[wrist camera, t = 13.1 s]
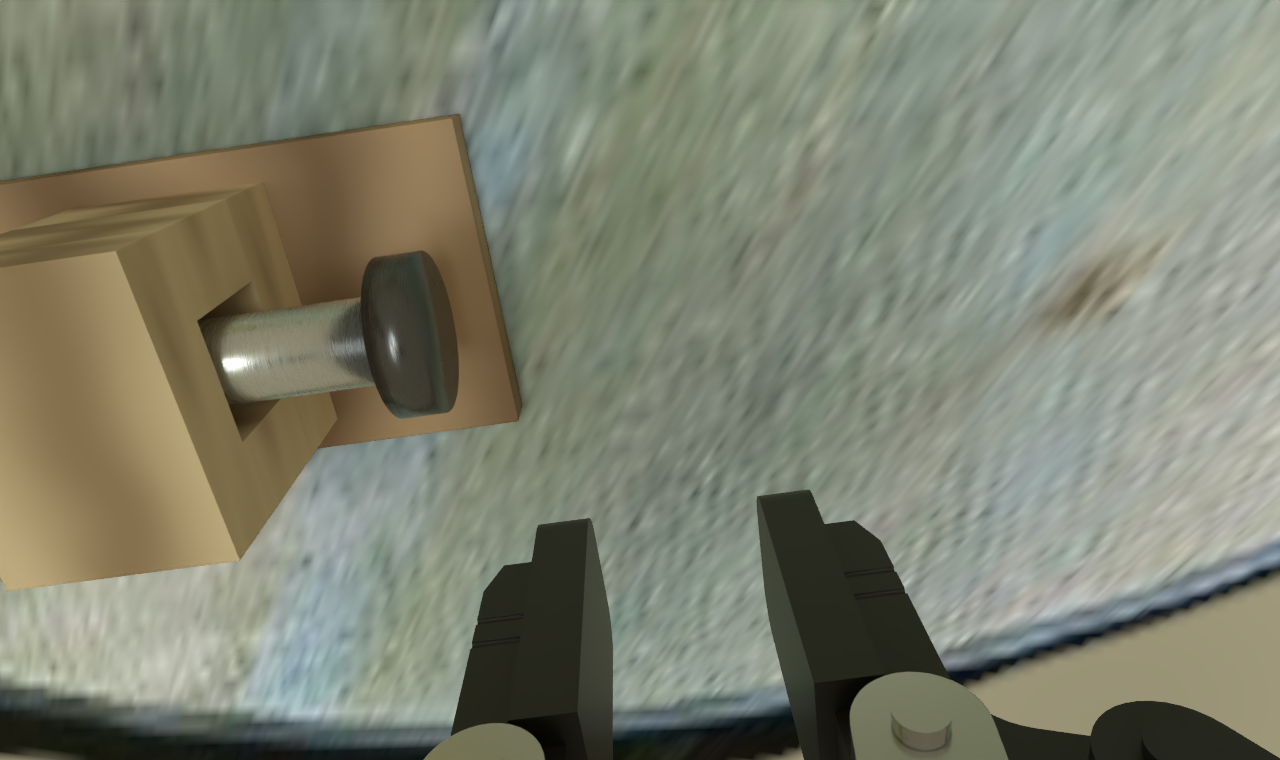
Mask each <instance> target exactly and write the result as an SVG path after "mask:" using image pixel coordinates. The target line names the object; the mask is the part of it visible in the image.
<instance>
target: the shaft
mask: <svg viewBox="0 0 1280 760" xmlns="http://www.w3.org/2000/svg"><path fill="white" fill-rule="evenodd" d="M197 322H198V325H199V327H200V330H201V333H202V335H203V338H204V341H205V343H206V346H207V349H208V351H209V354H210V357H211V359H212V362H213V365H214V367H215V370H216V373H217V375H218V378H219V381H220V383H221V386H222V389H223V391H224V394H225V397H226V400H227V402H228V405H236V404H243V403H251V402H258V401H265V400H272V399H280V398H287V397H294V396H302V395H309V394H316V393H323V392H331V391H338V390H345V389H353V388H360V387H367V386H374V385H376V388H377V390H378V392H379V395H380V397H381V399H382V401H383V402H384V404H385V406H386V407H387V408H388V410H389V411H390V412H391V413H392V414H393V415H394V416H395V417H397V418H399V419H406V418H413V417H421V416H428V415H435V414H443V413H448V412H450V411H451V410H452V409H453V407H454V405H455V402H456V398H457V393H458V384H459V357H458V345H457V337H456V330H455V324H454V319H453V314H452V309H451V305H450V301H449V297H448V294H447V290H446V287H445V284H444V282H443V279H442V276H441V274H440V272H439V269H438V267H437V265H436V264H435V262H434V260H433V259H432V257H431V256H430V255H429V254H428V253H427V252H425V251H422V250H420V251H413V252H406V253H399V254H392V255H385V256H378V257H374V258H372V259H371V260H370V261H369V263H368V264H367V266H366V268H365V272H364V275H363V280H362V287H361V297H359V298H352V299H345V300H338V301H331V302H324V303H317V304H309V305H302V306H295V307H288V308H281V309H274V310H267V311H260V312H253V313H246V314H238V315H231V316H224V317H217V318H210V319H203V320H198V321H197Z"/></svg>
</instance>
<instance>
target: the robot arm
mask: <svg viewBox="0 0 1280 760" xmlns="http://www.w3.org/2000/svg"><path fill="white" fill-rule="evenodd" d="M757 514H758V525H759V536H760V546H761V557H762V567H763V578H764V588H765V596H766V603H767V609H768V615H769V621H770V626H771V630H772V635H773V639H774V642H775V646H776V650H777V654H778V658H779V662H780V666H781V670H782V674H783V678H784V682H785V686H786V690H787V694H788V698H789V702H790V706H791V710H792V714H793V718H794V722H795V726H796V730H797V733H798V737H799V741H800V745H801V749H802V753H803V757H804V760H1280V758H1278V757H1277V756H1275V755H1273V754H1272V753H1270V752H1269V751H1267V750H1265V749H1264V748H1262V747H1260V746H1259V745H1257V744H1255V743H1254V742H1252V741H1250V740H1249V739H1247V738H1245V737H1244V736H1242V735H1241V734H1239V733H1237V732H1236V731H1234V730H1232V729H1230V728H1229V727H1227V726H1226V725H1224V724H1222V723H1220V722H1218V721H1217V720H1215V719H1213V718H1211V717H1209V716H1207V715H1205V714H1202V713H1200V712H1198V711H1195V710H1192V709H1189V708H1186V707H1183V706H1180V705H1175V704H1170V703H1165V702H1156V701H1136V702H1130V703H1124V704H1121V705H1118V706H1115V707H1113V708H1111V709H1109V710H1107V711H1106V712H1105V713H1103V714H1102V715H1101V716H1100V717H1099V718H1098V720H1097V721H1096V722H1095V724H1094V726H1093V729H1092V733H1091V736H1086V735H1078V734H1071V733H1064V732H1056V731H1050V730H1043V729H1036V728H1030V727H1026V726H1021V725H1018V724H1014V723H1010V722H1008V721H1005V720H1003V719H1000V718H998V717H996V716H993V715H992V714H990V712H989V710H988V709H987V707H986V706H985V705H984V703H983V702H982V701H981V700H980V699H979V698H978V697H977V696H976V695H975V694H973V693H972V692H971V691H969V690H968V689H967V688H965V687H963V686H962V685H960V684H958V683H956V682H954V681H952V680H951V679H950V677H949V676H948V674H947V672H946V670H945V668H944V666H943V664H942V662H941V660H940V658H939V656H938V654H937V652H936V650H935V648H934V646H933V644H932V642H931V640H930V638H929V636H928V634H927V632H926V630H925V628H924V626H923V624H922V622H921V620H920V618H919V616H918V614H917V612H916V610H915V608H914V606H913V604H912V602H911V600H910V598H909V596H908V594H905V590H904V586H903V584H902V582H901V580H900V578H899V576H898V574H897V572H894V566H893V564H892V562H891V560H890V558H889V556H888V554H887V552H886V551H885V549H884V547H883V545H882V543H881V541H880V540H879V539H878V538H876V537H875V536H874V535H873V534H871V533H870V532H869V531H867V530H866V529H865V528H863V527H862V526H861V525H859V524H858V523H857V522H855V521H854V520H853V521H846V522H838V523H830V524H824V522H823V520H822V517H821V515H820V512H819V510H818V507H817V505H816V503H815V500H814V498H813V495H812V493H811V491H810V490H802V491H794V492H787V493H779V494H772V495H764V496H757ZM477 620H478V625H476V628H475V632H474V636H473V641H472V649H470V654H469V658H468V662H467V667H466V671H465V676H464V680H463V684H462V689H461V693H460V697H459V702H458V706H457V710H456V715H455V719H454V724H453V728H452V732H451V737H449V738H447V739H446V740H444V741H443V742H442V743H440V744H439V745H438V746H437V747H435V748H434V749H433V750H432V751H431V752H430V753H429V754H428V755H427V756H426V758H425V759H424V760H612V727H613V643H612V630H611V621H610V614H609V607H608V602H607V597H606V591H605V586H604V581H603V575H602V570H601V565H600V560H599V554H598V549H597V544H596V538H595V533H594V529H593V525H592V521H591V519H590V518H587V519H579V520H572V521H564V522H556V523H549V524H541V525H538V527H537V531H536V538H535V544H534V551H533V557H532V562H528V563H520V564H513V565H505V566H503V568H502V569H501V570H500V572H499V573H498V574H497V575H496V577H495V578H494V579H493V580H492V582H491V583H490V584H489V586H488V587H487V588H486V589H485V591H484V593H483V597H482V601H481V606H480V610H479V614H478V619H477Z"/></svg>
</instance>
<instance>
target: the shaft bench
mask: <svg viewBox="0 0 1280 760" xmlns="http://www.w3.org/2000/svg"><path fill="white" fill-rule="evenodd" d="M420 250H422V251H425V252H427V253H428V254H429V255H430V256H431V257H432V259H433V260H434V262H435V264H436V265H437V267H438V269H439V272H440V274H441V276H442V279H443V282H444V284H445V287H446V290H447V294H448V297H449V301H450V305H451V309H452V314H453V319H454V324H455V330H456V337H457V345H458V357H459V384H458V393H457V398H456V402H455V405H454V407H453V409H452V410H451V411H450V412H448V413H443V414H435V415H428V416H421V417H413V418H406V419H399V418H397V417H395V416H394V415H393V414H392V413H391V412H390V411H389V410H388V408H387V407H386V406H385V404H384V402H383V401H382V399H381V397H380V395H379V392H378V390H377V388H376V385H374V386H367V387H360V388H353V389H345V390H338V391H331V392H323V393H316V394H309V395H302V396H294V397H287V398H280V399H272V400H265V401H258V402H251V403H243V404H236V405H228V402H227V400H226V397H225V394H224V391H223V389H222V386H221V383H220V381H219V378H218V375H217V373H216V370H215V367H214V365H213V362H212V359H211V357H210V354H209V351H208V349H207V346H206V343H205V341H204V338H203V335H202V333H201V330H200V327H199V325H198V322H197V321H198V320H203V319H210V318H217V317H224V316H231V315H238V314H246V313H253V312H260V311H267V310H274V309H281V308H288V307H295V306H302V305H309V304H317V303H324V302H331V301H338V300H345V299H352V298H359V297H361V287H362V280H363V275H364V272H365V268H366V266H367V264H368V263H369V261H370V260H371V259H372V258H374V257H378V256H385V255H392V254H399V253H406V252H413V251H420ZM521 408H522V404H521V399H520V394H519V390H518V385H517V381H516V376H515V371H514V367H513V362H512V357H511V353H510V348H509V343H508V339H507V334H506V330H505V325H504V320H503V316H502V311H501V306H500V302H499V297H498V292H497V288H496V283H495V279H494V274H493V269H492V265H491V260H490V255H489V251H488V246H487V241H486V237H485V232H484V228H483V223H482V218H481V214H480V209H479V204H478V200H477V195H476V190H475V186H474V181H473V176H472V172H471V167H470V163H469V158H468V153H467V149H466V144H465V139H464V135H463V130H462V125H461V121H460V116H459V114H455V115H448V116H441V117H434V118H428V119H421V120H414V121H407V122H400V123H394V124H387V125H380V126H373V127H366V128H360V129H353V130H346V131H339V132H333V133H326V134H319V135H312V136H305V137H299V138H292V139H285V140H278V141H271V142H265V143H258V144H251V145H244V146H237V147H231V148H224V149H217V150H210V151H203V152H197V153H190V154H183V155H176V156H169V157H163V158H156V159H149V160H142V161H135V162H129V163H122V164H115V165H108V166H101V167H95V168H88V169H81V170H74V171H67V172H61V173H54V174H47V175H40V176H33V177H27V178H20V179H13V180H6V181H0V578H1V579H2V581H3V583H4V585H5V587H6V589H7V590H8V591H13V590H20V589H28V588H35V587H43V586H51V585H58V584H66V583H73V582H81V581H89V580H96V579H104V578H111V577H119V576H127V575H134V574H142V573H149V572H157V571H165V570H172V569H180V568H188V567H195V566H203V565H210V564H218V563H226V562H233V561H240V560H241V558H242V557H243V555H244V554H245V552H246V551H247V549H248V548H249V547H250V545H251V544H252V542H253V541H254V539H255V538H256V536H257V535H258V534H259V532H260V531H261V529H262V528H263V526H264V525H265V523H266V522H267V520H268V519H269V518H270V516H271V515H272V513H273V512H274V510H275V509H276V507H277V506H278V505H279V503H280V502H281V500H282V499H283V497H284V496H285V494H286V493H287V491H288V490H289V489H290V487H291V486H292V484H293V483H294V481H295V480H296V478H297V477H298V476H299V474H300V473H301V471H302V470H303V468H304V467H305V465H306V464H307V462H308V461H309V460H310V458H311V457H312V455H313V454H314V452H315V451H316V449H317V448H324V447H331V446H339V445H346V444H353V443H361V442H368V441H376V440H383V439H390V438H398V437H405V436H413V435H420V434H427V433H435V432H442V431H450V430H457V429H464V428H472V427H479V426H486V425H494V424H501V423H509V422H516V421H519V416H520V412H521Z"/></svg>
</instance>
